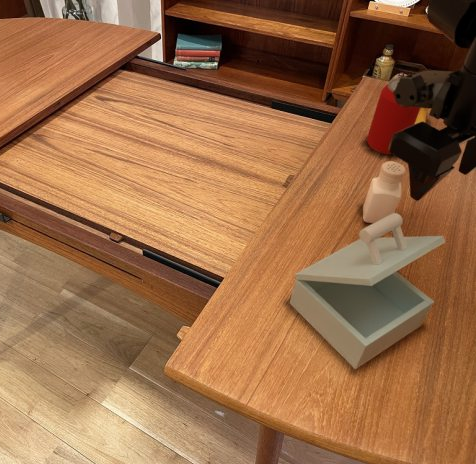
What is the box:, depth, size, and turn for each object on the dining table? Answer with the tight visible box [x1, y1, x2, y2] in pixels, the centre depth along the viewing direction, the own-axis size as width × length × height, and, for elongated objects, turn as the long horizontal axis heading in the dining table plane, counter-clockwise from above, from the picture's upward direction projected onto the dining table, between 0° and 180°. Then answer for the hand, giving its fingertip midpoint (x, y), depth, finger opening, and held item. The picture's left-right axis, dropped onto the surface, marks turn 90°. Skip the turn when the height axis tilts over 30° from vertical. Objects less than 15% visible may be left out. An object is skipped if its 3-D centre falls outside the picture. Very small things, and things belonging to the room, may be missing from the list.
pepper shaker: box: [362, 160, 406, 224], centre depth 75 cm, size 4×4×10 cm
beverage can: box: [366, 77, 420, 155], centre depth 88 cm, size 7×7×12 cm
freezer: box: [289, 271, 435, 370], centre depth 64 cm, size 12×12×5 cm
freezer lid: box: [294, 212, 446, 286], centre depth 59 cm, size 12×12×5 cm
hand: (439, 185), depth 63 cm, fingers open, 9 cm apart
